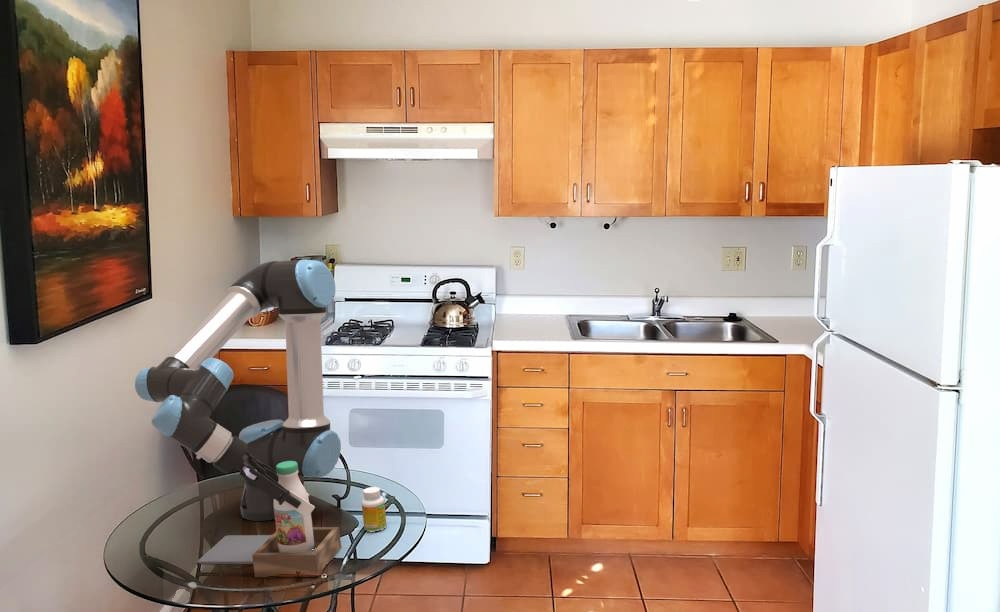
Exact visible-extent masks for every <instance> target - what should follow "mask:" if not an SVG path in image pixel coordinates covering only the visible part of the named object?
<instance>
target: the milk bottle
mask: <svg viewBox="0 0 1000 612" xmlns="http://www.w3.org/2000/svg"><path fill="white" fill-rule="evenodd" d="M276 471H277V476H278V483H279V484H280V485H282V486H283V487H284V488H285V489H287V490H289V491H292V492H293V493H295V494H296V495H298V496H299V497H301V498H302V499H304V500H306V501H307V502H309V503H310V500H309V497H308V494H309V493H308V492H307V490H306V488H305V486H304V485H303V484H302V482H301V480H300V476H298V464H297V462H295V461H285V462H281V463H279V464H277V466H276ZM307 493H308V494H307ZM274 515H275V519H274V523H275V530H276V531H275V532H277V540H278V548H279V552H280V553H311V552H312V551H313V550H312V549H313V548H314V536H313V528H312V527H313V519H312V512H311V513H310V515H309V516H308V517H305V516H304V515H302V514H300V513H299V512H297V511H296V510H294V509H293V508H291V507H290V506H288V505H287V504H285V503H284V502H283V504H282V505H279V502H278V501H277V500H275V499H274Z"/></svg>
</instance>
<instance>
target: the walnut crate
mask: <svg viewBox="0 0 1000 612" xmlns="http://www.w3.org/2000/svg"><path fill="white" fill-rule="evenodd" d="M312 528H313V536H314V548H313V549H315V548H316V549H315V550H313V552H308V553H280V552H279V548H278V540H277V532H276V531H275V532H274V533H273V534H271V535H272V536H271V537H270V538H269V539H268V540H267V541H266V542H265V543H264V544H263V545H262V546H261V547H260V548H259V549H258V550H257V551H256V552H255V553H254V554H253V555H252V557H253V564H252V565H253V572H254V578H269V577H268V576H274V575H278V574H281V573H289V572H296V571H297V572H299V571H301V572H305V573H319V572H320V570H321V569H323V568H324V567H325V565H326V564H328V563H329V561H331V560H332V561H333V559H334V558H335V556H336V555H337V554H338V553H339V551H340V550H341V549H342V540H341V533H340V532H341V531H340V527H339V526H337V527H336V526H328V527H327V526H326V527H325V526H322V527H321V526H319V527H318V526H317V527H315V526H312ZM332 561H331V562H332ZM329 564H330V563H329ZM329 564H328V565H329Z"/></svg>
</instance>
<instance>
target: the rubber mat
mask: <svg viewBox="0 0 1000 612" xmlns="http://www.w3.org/2000/svg"><path fill="white" fill-rule="evenodd" d="M272 535H273V534H262V535H261V534H257V535H256V534H255V535H254V534H251V535H250V534H248V535H247V534H246V535H245V534H242V535H241V534H240V535H239V534H238V535H236V534H235V535H233V534H231V535H230V534H228V535H225V536H224V537H223V538H222V539H221V538H220V540H219V541H218V542H216V544H215V545H214V546H213V547H211V548H210V550H208V551H207V552H206V553H205V554H203V556H201V557H200V558H199V559H198V560H196V564H197V563H199V564H198V565H253V557H252V555H253V554H254V553H255V552H256V551H257V550H258V549H259V548H260V547H261V546H262V545H263V544H264V543H265V542H266V541H267V540H268V539H269V538H270V537H271V536H272Z"/></svg>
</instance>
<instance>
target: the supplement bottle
mask: <svg viewBox="0 0 1000 612" xmlns="http://www.w3.org/2000/svg"><path fill="white" fill-rule="evenodd" d="M362 493H363V499H362V500H361V510H362V512H361V513H362V518H363V519H362V520H363V522H362V523H363V529H364V531H365V530H367V531H369V532H368V533H376V532H375V531H379V530H382V529H384V528H385V529H386V528H387V515H386V507H385V499H384V497H383V496H382V495H381V487H380V488H379V487H378V486H377V487H376V486H369V487H367V488H364V489H363V492H362ZM385 529H384V530H385ZM367 531H366V532H367ZM371 531H372V532H371ZM382 531H383V530H382ZM379 532H380V531H379Z"/></svg>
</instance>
